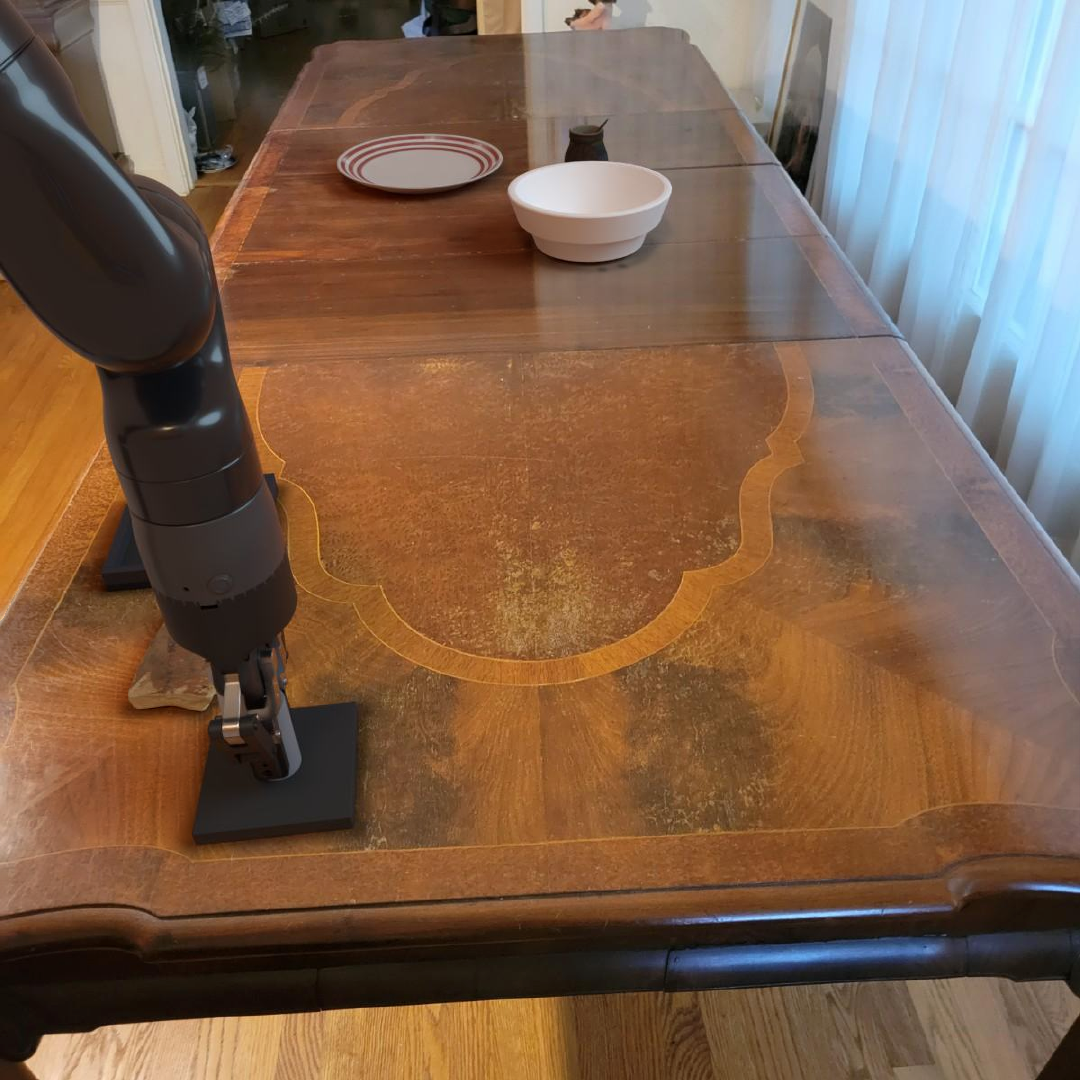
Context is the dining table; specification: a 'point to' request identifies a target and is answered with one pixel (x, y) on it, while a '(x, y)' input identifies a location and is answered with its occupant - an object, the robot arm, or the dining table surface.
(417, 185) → the dinner plate
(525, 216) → the bowl
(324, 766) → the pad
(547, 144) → the dining table surface
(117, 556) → the base pad
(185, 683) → the shard
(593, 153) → the mate gourd
